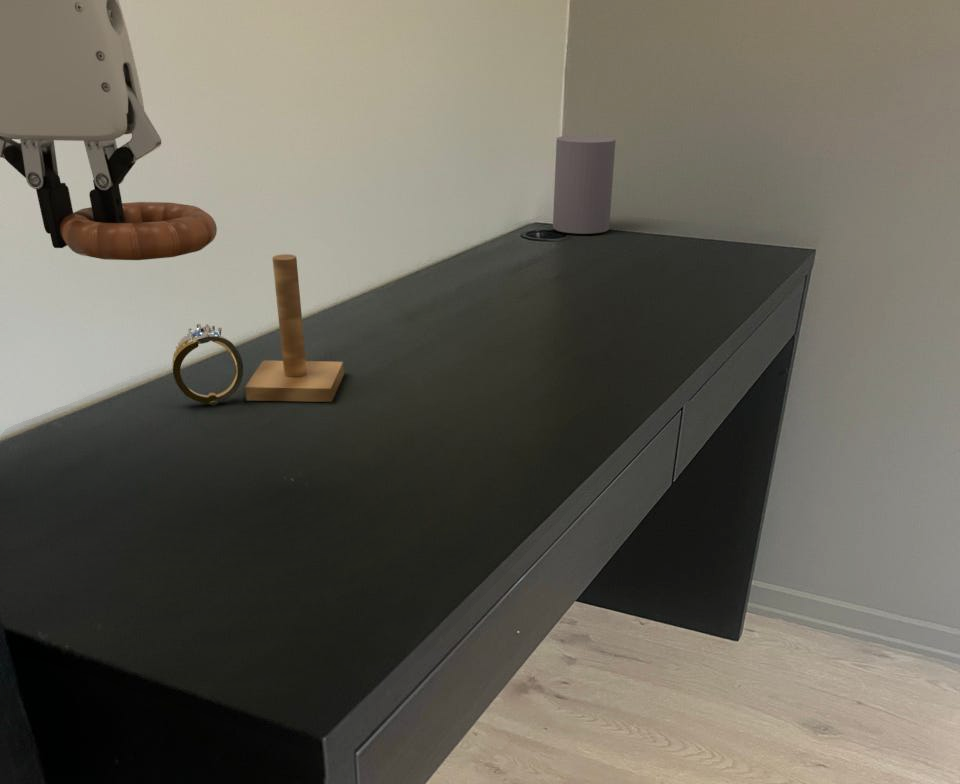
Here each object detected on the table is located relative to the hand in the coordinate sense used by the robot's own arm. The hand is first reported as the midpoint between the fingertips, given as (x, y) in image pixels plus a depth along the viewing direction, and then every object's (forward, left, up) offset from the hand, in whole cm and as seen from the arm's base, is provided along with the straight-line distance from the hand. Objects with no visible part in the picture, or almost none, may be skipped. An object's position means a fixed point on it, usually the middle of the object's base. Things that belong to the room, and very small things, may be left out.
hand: (88, 242), depth 74 cm
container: (+45, +116, -20) cm, 126 cm away
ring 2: (+1, +21, -20) cm, 30 cm away
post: (+9, +27, -20) cm, 35 cm away
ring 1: (+4, 0, +1) cm, 4 cm away
